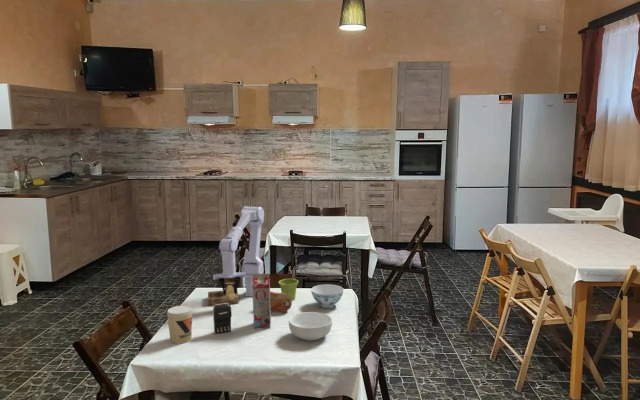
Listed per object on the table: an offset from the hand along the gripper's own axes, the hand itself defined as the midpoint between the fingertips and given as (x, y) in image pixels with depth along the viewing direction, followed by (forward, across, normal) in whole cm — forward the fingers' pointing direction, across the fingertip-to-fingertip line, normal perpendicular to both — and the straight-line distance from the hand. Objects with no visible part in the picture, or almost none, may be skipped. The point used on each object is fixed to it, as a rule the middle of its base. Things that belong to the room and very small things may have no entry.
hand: (230, 293), depth 211 cm
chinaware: (+7, +44, -9) cm, 45 cm away
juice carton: (+7, +12, -25) cm, 29 cm away
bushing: (+2, 0, 0) cm, 2 cm away
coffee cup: (+7, -20, -31) cm, 38 cm away
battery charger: (+7, -4, -28) cm, 29 cm away
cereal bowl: (+7, +29, -41) cm, 51 cm away
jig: (+7, -3, +11) cm, 13 cm away
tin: (+7, +20, -9) cm, 23 cm away
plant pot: (+7, +28, +5) cm, 29 cm away
